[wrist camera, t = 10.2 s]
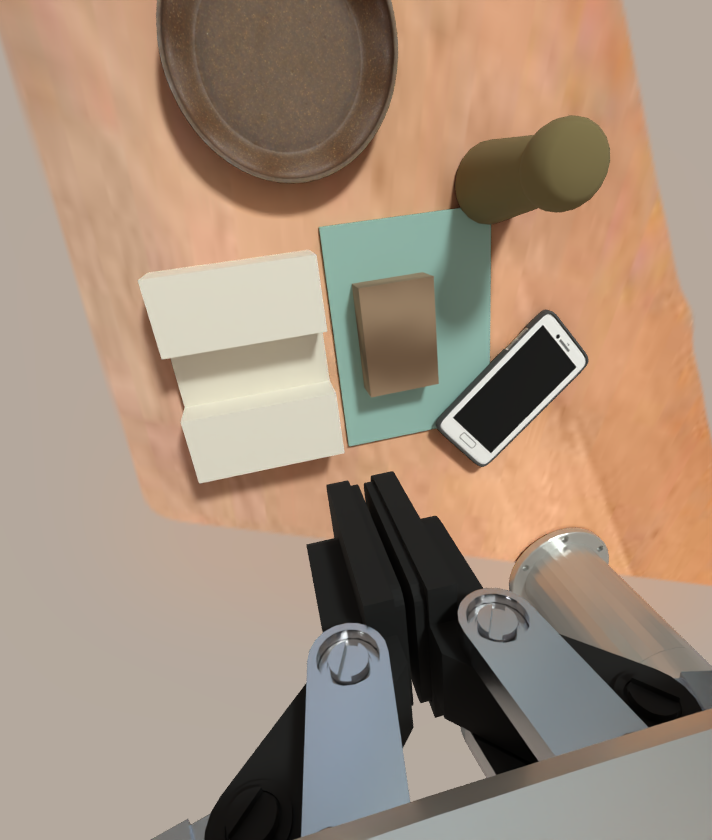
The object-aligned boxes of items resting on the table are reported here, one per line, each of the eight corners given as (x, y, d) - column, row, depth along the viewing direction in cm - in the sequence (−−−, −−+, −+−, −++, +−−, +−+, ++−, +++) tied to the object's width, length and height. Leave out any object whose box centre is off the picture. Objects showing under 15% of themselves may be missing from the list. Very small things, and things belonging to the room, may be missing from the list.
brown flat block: (371, 397, 40) (364, 387, 42) (438, 383, 41) (428, 374, 43) (358, 288, 36) (351, 283, 38) (433, 276, 37) (422, 272, 39)
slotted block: (335, 432, 44) (344, 453, 40) (202, 459, 42) (199, 483, 38) (308, 249, 37) (316, 254, 33) (147, 272, 35) (137, 280, 32)
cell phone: (430, 423, 45) (434, 427, 44) (544, 304, 43) (551, 306, 42) (478, 466, 48) (482, 470, 47) (586, 358, 46) (592, 361, 45)
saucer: (316, 226, 37) (321, 227, 34) (122, 90, 31) (112, 81, 28) (427, 33, 33) (442, 20, 31) (232, -161, 27) (232, -196, 25)
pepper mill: (455, 140, 36) (539, 101, 26) (528, 138, 37) (635, 99, 27) (454, 227, 38) (531, 221, 28) (523, 222, 39) (621, 215, 29)
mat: (487, 416, 47) (489, 417, 46) (348, 444, 45) (349, 446, 44) (489, 203, 38) (491, 203, 38) (318, 227, 36) (319, 227, 36)
